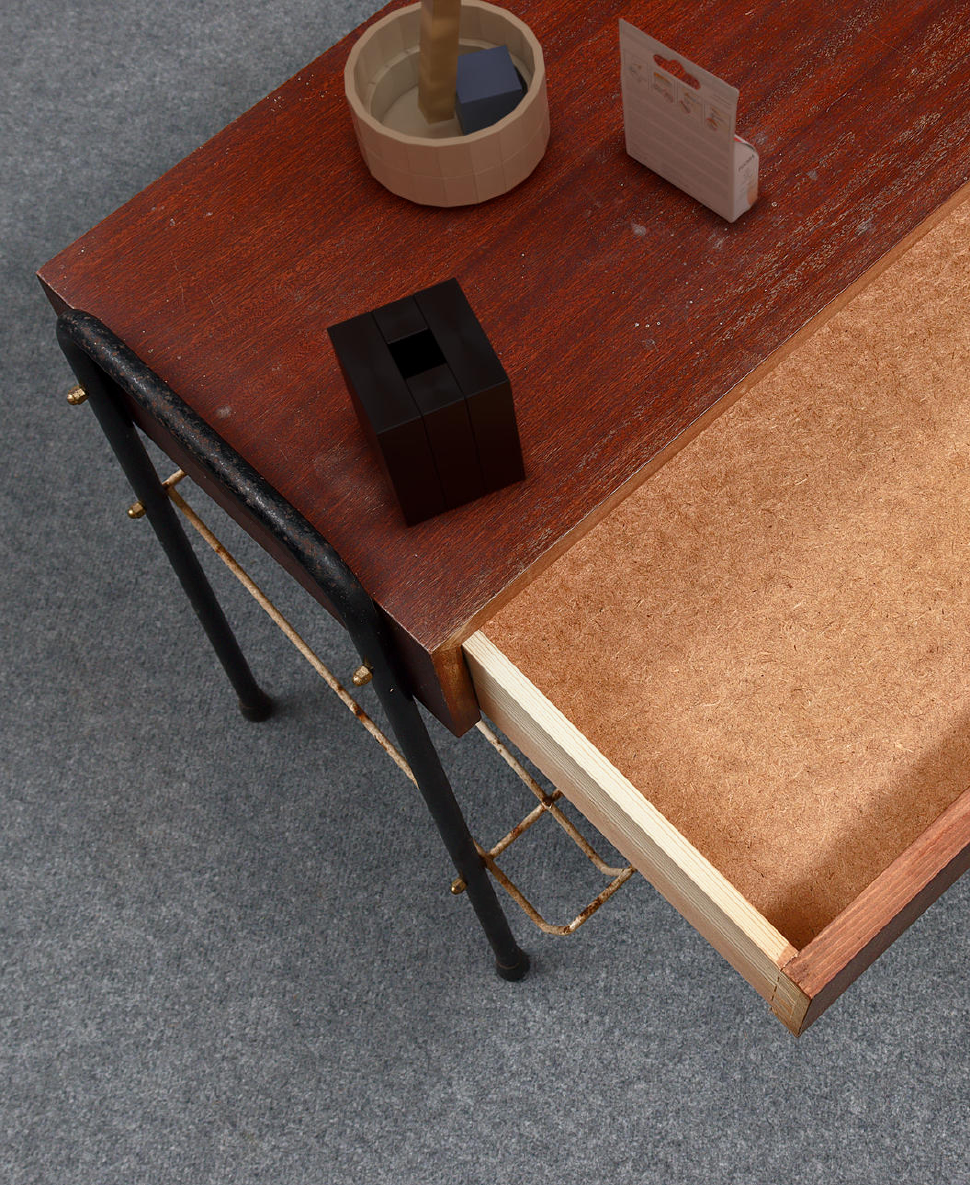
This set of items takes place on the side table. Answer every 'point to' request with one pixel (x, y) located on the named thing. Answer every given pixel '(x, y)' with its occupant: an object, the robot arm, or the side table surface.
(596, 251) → the side table surface
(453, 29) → the stick
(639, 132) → the ink box
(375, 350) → the stand
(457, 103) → the block
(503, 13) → the bowl
